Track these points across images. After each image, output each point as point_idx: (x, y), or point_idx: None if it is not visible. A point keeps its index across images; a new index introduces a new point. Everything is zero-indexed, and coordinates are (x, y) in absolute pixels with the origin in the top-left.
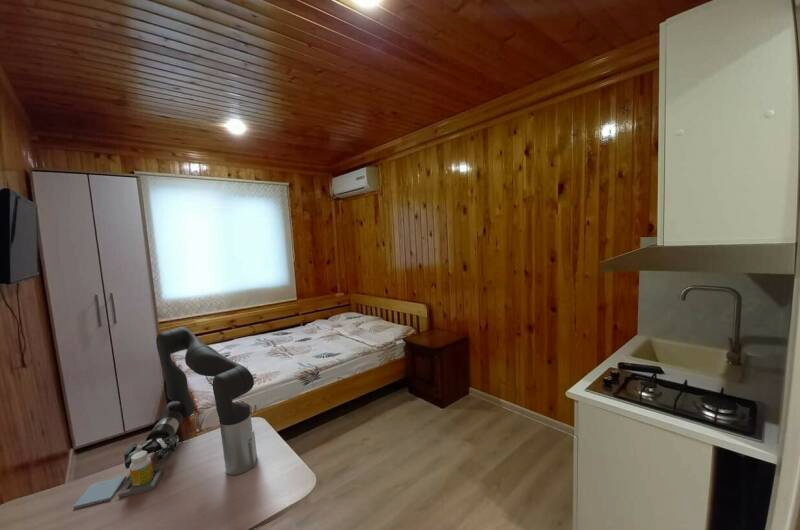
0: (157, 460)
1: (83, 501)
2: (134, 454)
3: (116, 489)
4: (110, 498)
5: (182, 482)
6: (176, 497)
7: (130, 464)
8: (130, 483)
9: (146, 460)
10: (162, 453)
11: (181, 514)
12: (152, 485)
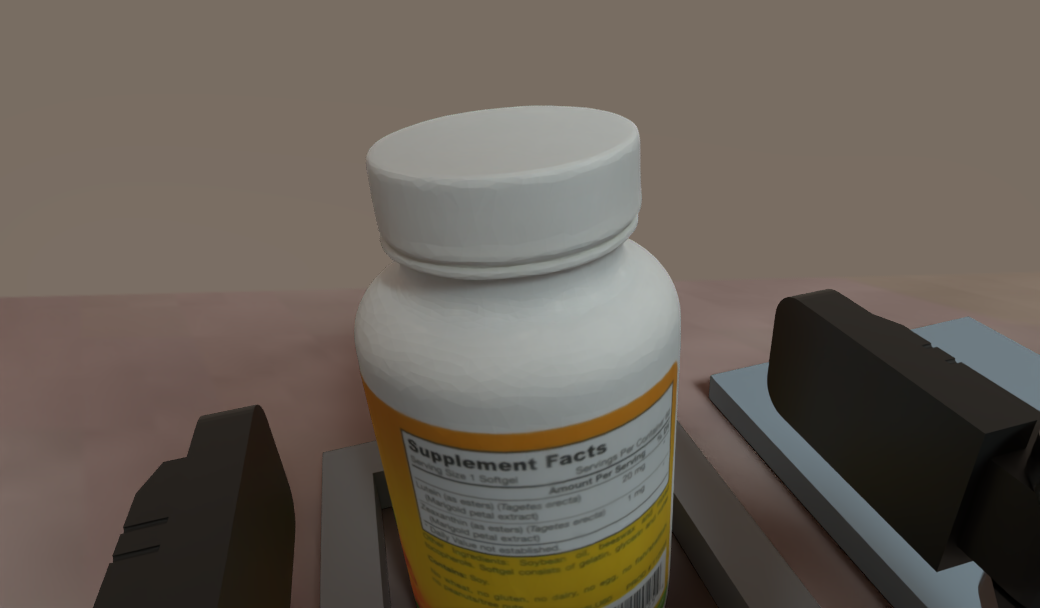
0: (281, 472)
1: (952, 346)
2: (614, 128)
3: (774, 446)
4: (713, 384)
5: (8, 564)
6: (80, 414)
7: (808, 408)
8: (675, 502)
9: (390, 275)
10: (156, 508)
11: (47, 326)
12: (333, 453)
